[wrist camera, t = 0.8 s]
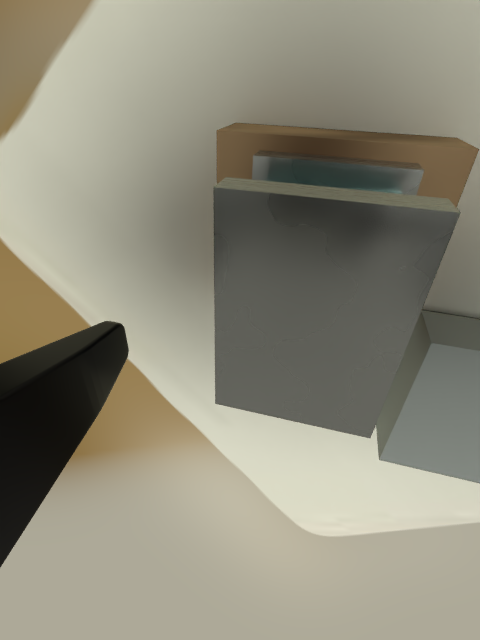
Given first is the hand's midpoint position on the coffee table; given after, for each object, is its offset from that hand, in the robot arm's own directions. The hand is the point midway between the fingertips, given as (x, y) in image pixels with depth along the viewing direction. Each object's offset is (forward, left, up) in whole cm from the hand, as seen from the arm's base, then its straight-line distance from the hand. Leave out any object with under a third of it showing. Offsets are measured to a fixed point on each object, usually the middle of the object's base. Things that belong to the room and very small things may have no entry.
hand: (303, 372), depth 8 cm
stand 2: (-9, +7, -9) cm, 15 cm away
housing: (0, 0, -7) cm, 7 cm away
